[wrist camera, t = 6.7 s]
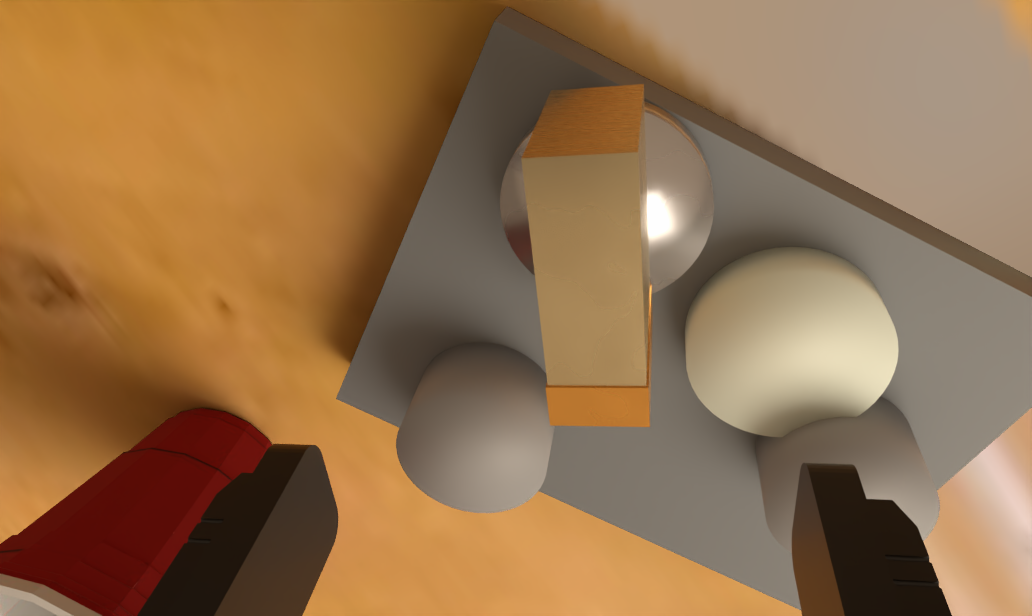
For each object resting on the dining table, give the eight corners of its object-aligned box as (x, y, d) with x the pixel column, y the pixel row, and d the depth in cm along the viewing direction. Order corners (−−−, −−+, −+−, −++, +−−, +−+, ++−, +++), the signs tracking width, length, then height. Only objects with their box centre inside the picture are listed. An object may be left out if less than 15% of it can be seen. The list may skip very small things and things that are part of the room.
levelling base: (354, 367, 30) (304, 453, 26) (507, 6, 22) (471, 46, 18) (793, 569, 32) (812, 679, 28) (1080, 302, 24) (1166, 401, 20)
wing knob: (491, 84, 21) (437, 163, 16) (714, 68, 20) (730, 148, 15) (520, 303, 25) (483, 424, 20) (710, 301, 24) (722, 428, 19)
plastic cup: (156, 307, 31) (-95, 541, 20) (380, 457, 33) (254, 734, 23) (70, 452, 36) (-162, 694, 26) (268, 572, 38) (125, 837, 28)
